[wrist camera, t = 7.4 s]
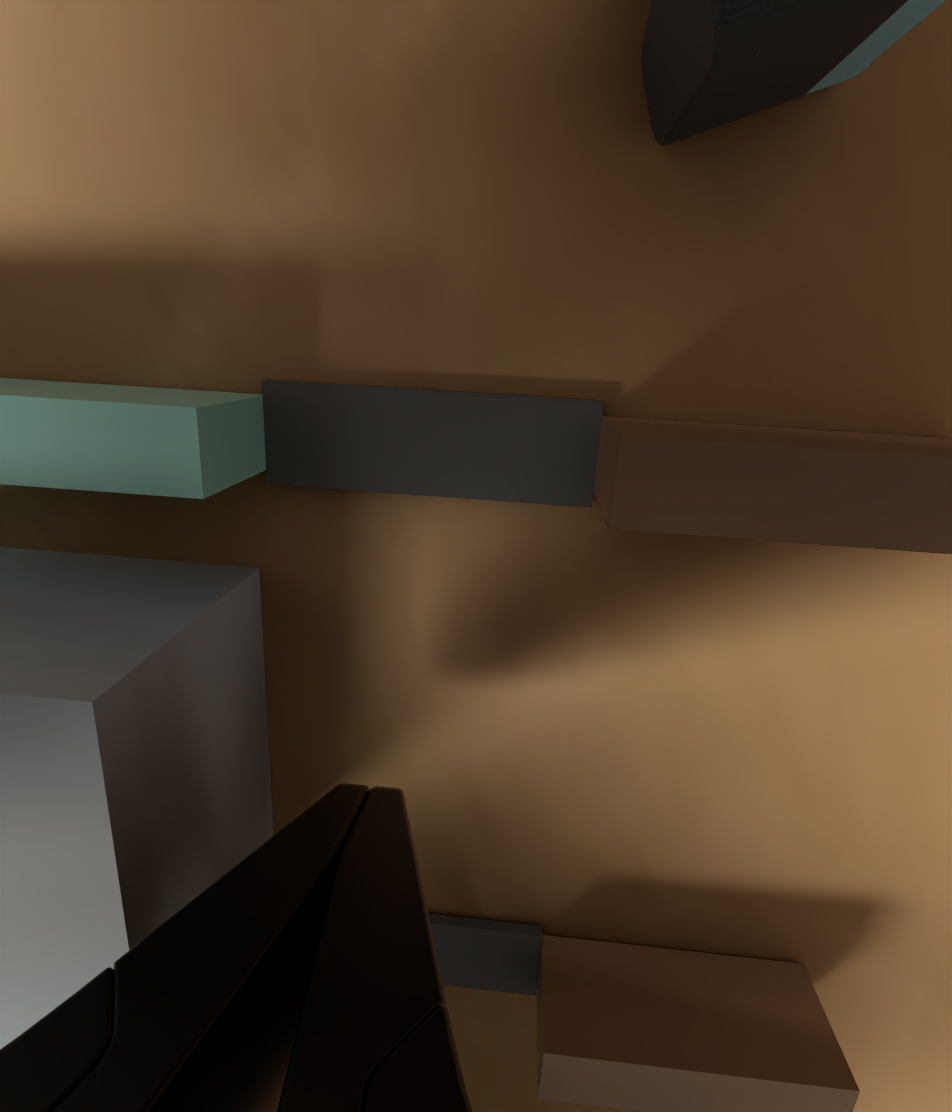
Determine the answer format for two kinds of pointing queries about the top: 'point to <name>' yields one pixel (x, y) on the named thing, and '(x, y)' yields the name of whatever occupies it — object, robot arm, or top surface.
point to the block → (120, 757)
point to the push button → (758, 54)
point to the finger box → (627, 504)
